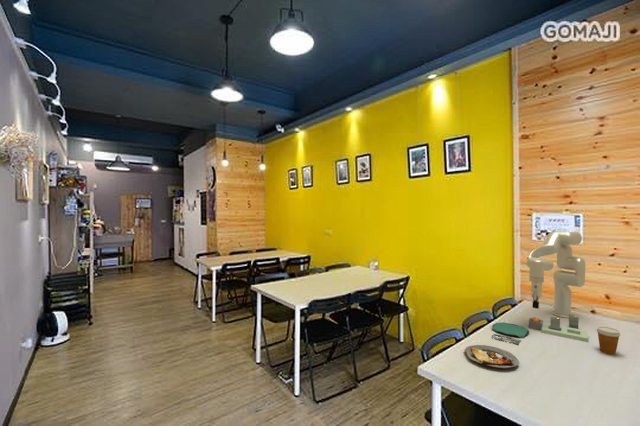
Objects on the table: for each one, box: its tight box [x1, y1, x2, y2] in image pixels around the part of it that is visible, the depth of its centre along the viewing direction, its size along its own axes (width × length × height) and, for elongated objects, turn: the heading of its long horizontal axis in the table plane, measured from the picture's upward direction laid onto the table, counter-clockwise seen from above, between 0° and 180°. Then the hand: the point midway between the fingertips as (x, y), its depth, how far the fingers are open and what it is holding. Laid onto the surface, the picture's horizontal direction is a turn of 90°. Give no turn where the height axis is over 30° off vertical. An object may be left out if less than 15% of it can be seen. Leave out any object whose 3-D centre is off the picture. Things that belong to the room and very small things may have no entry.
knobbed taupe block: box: [568, 315, 580, 329], centre depth 202 cm, size 5×5×8 cm
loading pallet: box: [527, 317, 589, 343], centre depth 197 cm, size 29×14×5 cm, turn 52°
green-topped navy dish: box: [491, 321, 530, 346], centre depth 196 cm, size 20×30×2 cm, turn 138°
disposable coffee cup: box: [596, 326, 621, 355], centre depth 172 cm, size 10×10×12 cm
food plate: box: [464, 344, 520, 369], centre depth 164 cm, size 25×23×4 cm
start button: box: [531, 317, 540, 322], centre depth 204 cm, size 4×4×3 cm
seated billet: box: [549, 316, 561, 331], centre depth 198 cm, size 5×5×8 cm
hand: (535, 307), depth 203 cm, fingers closed
